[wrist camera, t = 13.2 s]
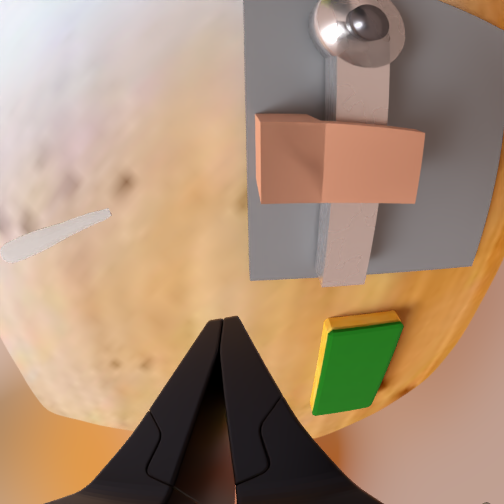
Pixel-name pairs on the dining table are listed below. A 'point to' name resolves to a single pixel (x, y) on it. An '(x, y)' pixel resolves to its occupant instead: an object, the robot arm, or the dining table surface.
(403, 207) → the base plate
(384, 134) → the block
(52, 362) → the dining table surface
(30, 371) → the dining table surface
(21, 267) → the dining table surface
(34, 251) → the butter knife
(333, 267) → the lever
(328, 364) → the dish sponge
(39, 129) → the dining table surface
